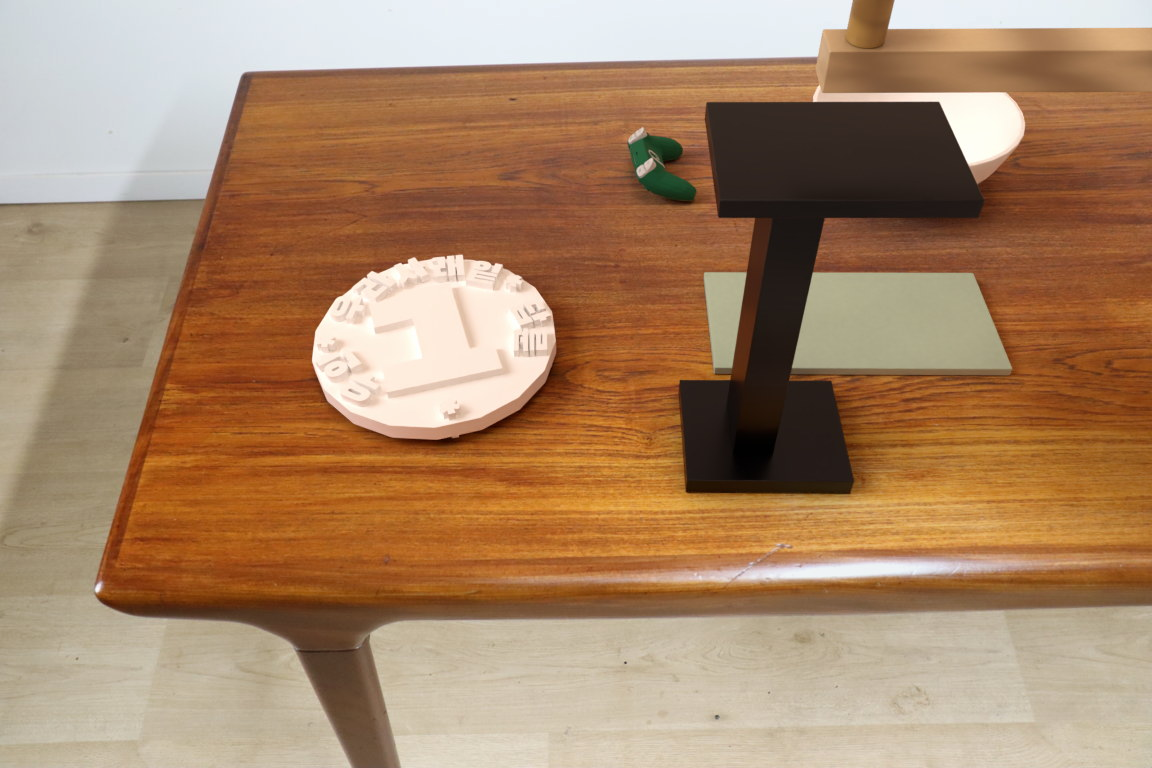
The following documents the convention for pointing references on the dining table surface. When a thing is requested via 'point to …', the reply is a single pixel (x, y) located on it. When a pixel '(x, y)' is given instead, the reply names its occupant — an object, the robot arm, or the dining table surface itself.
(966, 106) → the bowl
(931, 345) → the mat
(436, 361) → the giant coin
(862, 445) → the dining table surface
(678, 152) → the gaming controller
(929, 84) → the long square wooden dowel
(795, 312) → the black pedestal stand
